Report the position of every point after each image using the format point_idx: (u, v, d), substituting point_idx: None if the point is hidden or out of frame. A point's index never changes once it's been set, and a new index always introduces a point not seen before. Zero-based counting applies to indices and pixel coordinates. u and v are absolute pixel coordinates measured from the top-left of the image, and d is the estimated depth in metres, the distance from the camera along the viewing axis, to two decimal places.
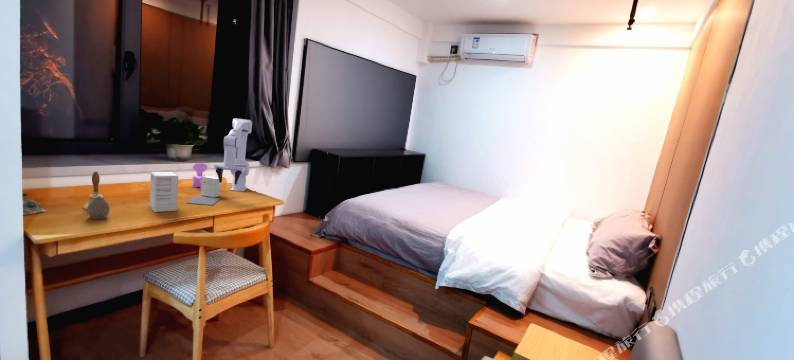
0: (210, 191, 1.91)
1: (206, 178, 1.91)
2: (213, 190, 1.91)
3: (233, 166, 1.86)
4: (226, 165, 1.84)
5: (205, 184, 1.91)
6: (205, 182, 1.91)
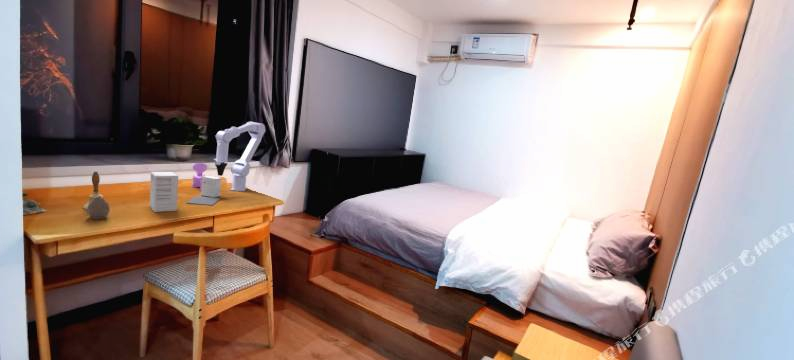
0: (210, 191, 1.91)
1: (206, 178, 1.91)
2: (213, 190, 1.91)
3: (217, 159, 1.97)
4: None
5: (205, 184, 1.91)
6: (205, 182, 1.91)
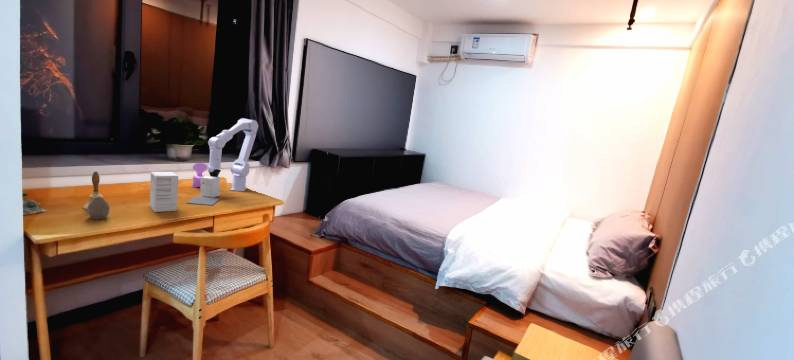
0: (209, 191, 1.91)
1: (204, 179, 1.90)
2: (212, 190, 1.91)
3: (210, 165, 1.93)
4: None
5: (204, 185, 1.90)
6: (203, 182, 1.90)
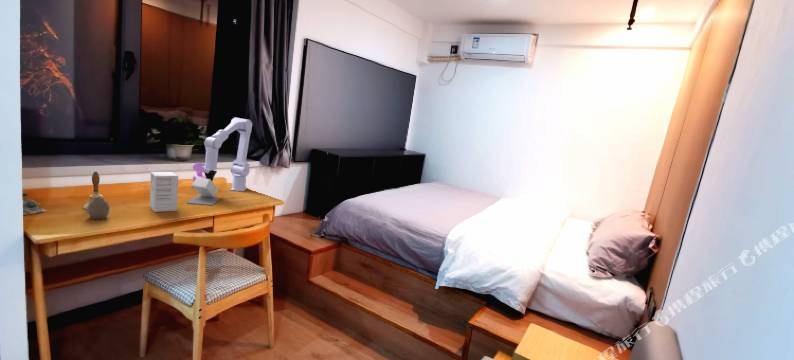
0: (207, 194, 1.89)
1: (196, 186, 1.83)
2: (209, 193, 1.88)
3: (206, 166, 1.87)
4: None
5: (199, 190, 1.86)
6: (197, 188, 1.85)
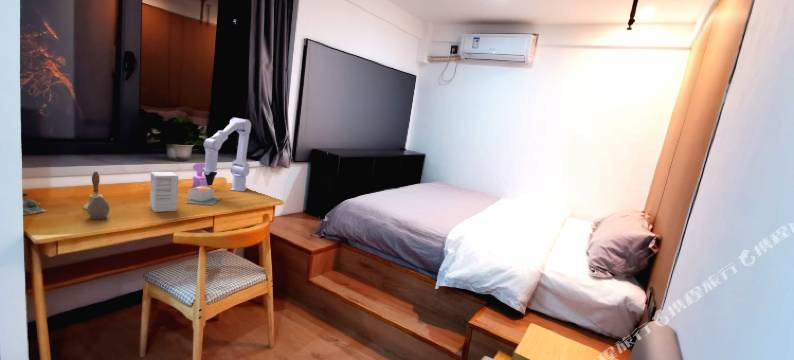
0: None
1: (192, 199, 1.82)
2: None
3: (206, 168, 1.86)
4: None
5: None
6: None
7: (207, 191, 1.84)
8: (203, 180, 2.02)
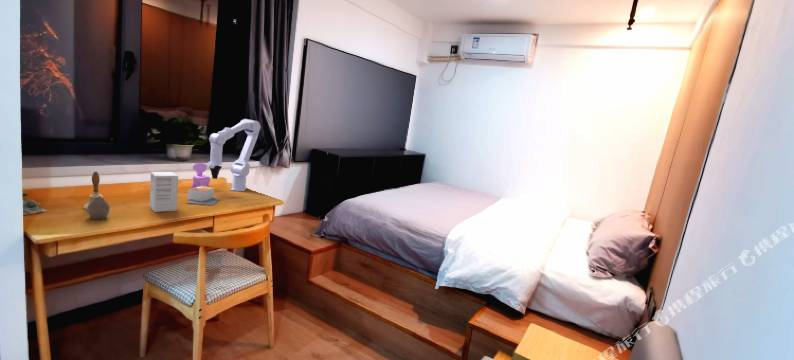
0: None
1: (192, 199, 1.82)
2: None
3: (211, 162, 1.94)
4: None
5: None
6: None
7: (207, 191, 1.84)
8: (203, 180, 2.02)
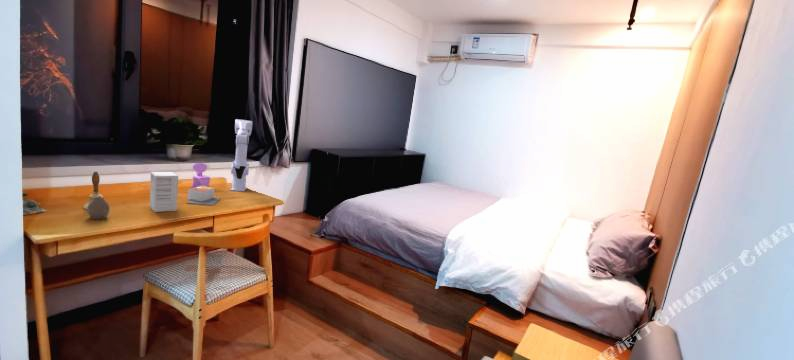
0: None
1: (192, 199, 1.82)
2: None
3: (236, 162, 1.97)
4: None
5: None
6: None
7: (207, 191, 1.84)
8: (203, 180, 2.02)
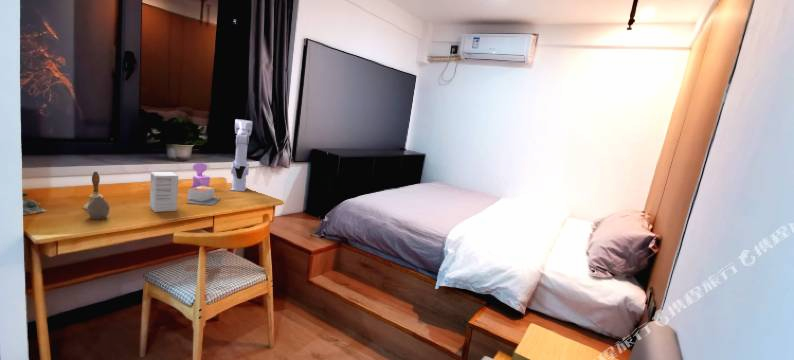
0: None
1: (192, 199, 1.82)
2: None
3: (236, 162, 1.97)
4: None
5: None
6: None
7: (207, 191, 1.84)
8: (203, 180, 2.02)
